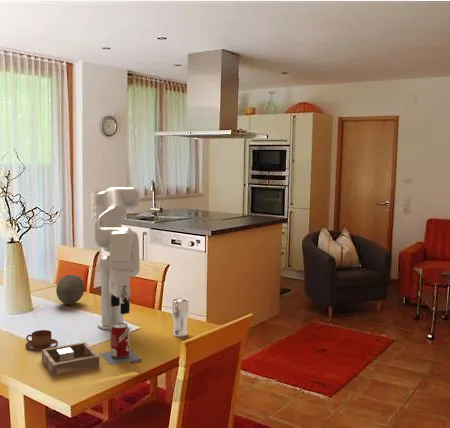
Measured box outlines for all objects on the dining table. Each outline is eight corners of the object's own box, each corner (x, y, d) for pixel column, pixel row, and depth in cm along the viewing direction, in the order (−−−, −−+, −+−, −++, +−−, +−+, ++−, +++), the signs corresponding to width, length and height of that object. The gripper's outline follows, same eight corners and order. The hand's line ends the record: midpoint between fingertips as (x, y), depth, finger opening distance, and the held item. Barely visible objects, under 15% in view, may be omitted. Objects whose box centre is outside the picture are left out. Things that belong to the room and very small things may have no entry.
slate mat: (99, 356, 195) (99, 353, 195) (129, 350, 201) (129, 348, 201) (110, 367, 185) (110, 364, 185) (141, 361, 191) (141, 358, 191)
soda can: (113, 360, 189) (113, 328, 187) (108, 354, 195) (108, 323, 193) (131, 357, 192) (131, 326, 190) (126, 351, 198) (126, 321, 196)
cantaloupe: (50, 305, 260) (49, 275, 258) (72, 299, 271) (72, 271, 270) (68, 310, 252) (67, 280, 250) (90, 304, 263) (90, 275, 262)
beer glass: (185, 337, 217) (186, 303, 215) (169, 336, 218) (170, 301, 217) (190, 332, 224) (190, 298, 222) (174, 331, 225) (175, 297, 224)
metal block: (56, 360, 188) (56, 349, 187) (70, 357, 190) (70, 347, 190) (60, 365, 184) (59, 354, 183) (74, 362, 186) (73, 351, 186)
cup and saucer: (23, 355, 195) (23, 339, 194) (27, 344, 206) (26, 329, 206) (57, 352, 198) (57, 337, 197) (58, 341, 210) (58, 327, 209)
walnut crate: (41, 362, 188) (41, 349, 187) (85, 354, 196) (85, 342, 196) (53, 379, 174) (53, 365, 174) (99, 369, 183) (99, 356, 182)
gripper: (102, 260, 195) (102, 304, 197) (119, 271, 180) (118, 318, 182) (121, 258, 199) (121, 302, 201) (139, 268, 184) (138, 315, 186)
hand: (120, 309), depth 192 cm, fingers open, 9 cm apart
